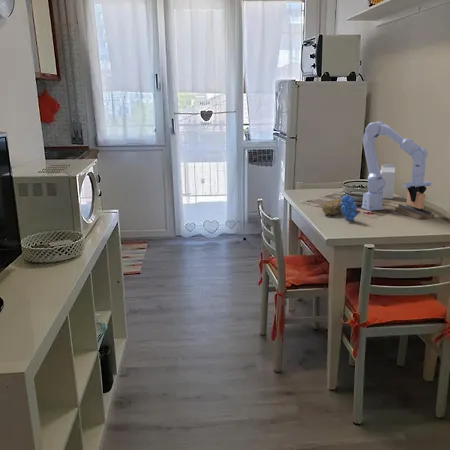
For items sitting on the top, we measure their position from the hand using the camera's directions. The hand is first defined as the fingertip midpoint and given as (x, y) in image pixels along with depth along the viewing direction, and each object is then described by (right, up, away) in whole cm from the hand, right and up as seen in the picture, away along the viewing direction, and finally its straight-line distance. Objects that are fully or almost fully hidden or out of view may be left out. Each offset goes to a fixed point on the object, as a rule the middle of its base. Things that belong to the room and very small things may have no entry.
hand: (415, 201), depth 228 cm
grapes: (-36, -9, -7) cm, 38 cm away
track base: (0, -6, +2) cm, 6 cm away
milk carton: (-2, +4, +37) cm, 37 cm away
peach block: (0, -2, +1) cm, 3 cm away
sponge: (-37, -6, +7) cm, 38 cm away
